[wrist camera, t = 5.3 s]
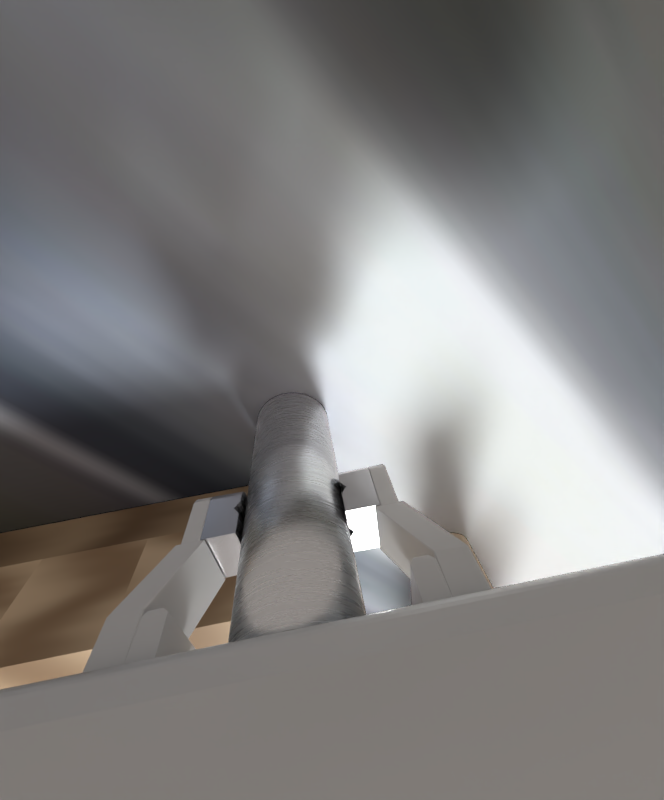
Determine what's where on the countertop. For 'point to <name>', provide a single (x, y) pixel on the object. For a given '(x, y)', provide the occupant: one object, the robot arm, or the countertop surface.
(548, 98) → the countertop surface
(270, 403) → the metal pin
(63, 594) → the bore block
